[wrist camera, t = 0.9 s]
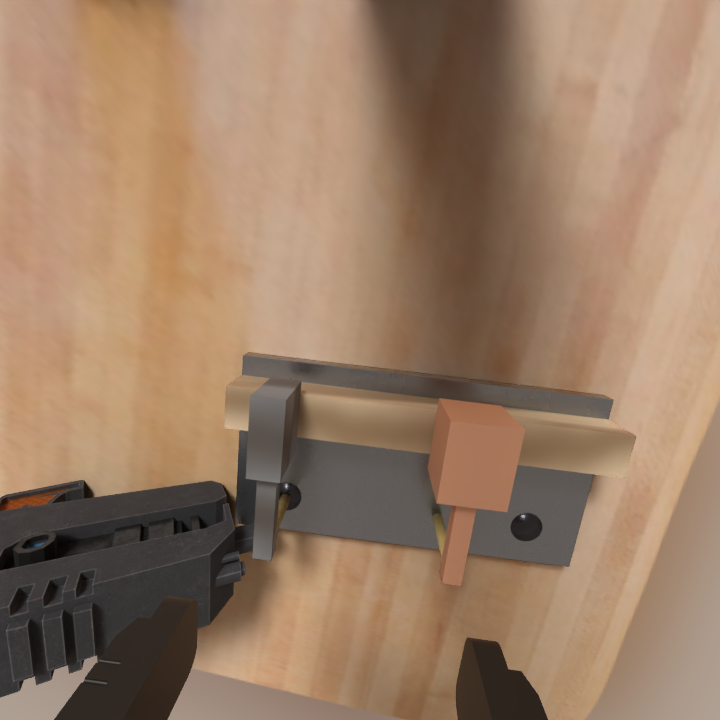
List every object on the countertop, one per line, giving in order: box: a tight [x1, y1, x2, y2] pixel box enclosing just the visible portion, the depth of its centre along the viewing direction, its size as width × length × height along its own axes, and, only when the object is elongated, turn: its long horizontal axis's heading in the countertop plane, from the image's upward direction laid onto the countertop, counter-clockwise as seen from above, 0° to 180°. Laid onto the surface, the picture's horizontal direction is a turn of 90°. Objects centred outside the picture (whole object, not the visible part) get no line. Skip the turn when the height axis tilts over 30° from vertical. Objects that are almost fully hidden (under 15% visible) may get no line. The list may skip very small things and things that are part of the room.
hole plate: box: [235, 352, 613, 567], centre depth 29 cm, size 14×27×1 cm, turn 84°
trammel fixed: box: [224, 375, 636, 561], centre depth 25 cm, size 11×27×7 cm, turn 84°
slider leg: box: [428, 398, 525, 586], centre depth 25 cm, size 11×4×7 cm, turn 174°
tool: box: [0, 480, 254, 697], centre depth 27 cm, size 6×19×15 cm, turn 85°
